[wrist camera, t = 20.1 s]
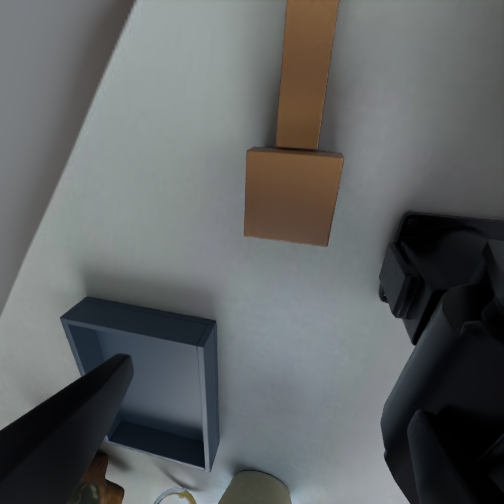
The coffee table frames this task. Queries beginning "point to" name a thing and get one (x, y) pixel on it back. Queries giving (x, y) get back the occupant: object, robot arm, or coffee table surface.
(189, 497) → the ring
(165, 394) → the tray
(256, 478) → the plant pot
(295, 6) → the brush
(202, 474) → the coffee table surface
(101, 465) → the decorative turtle
